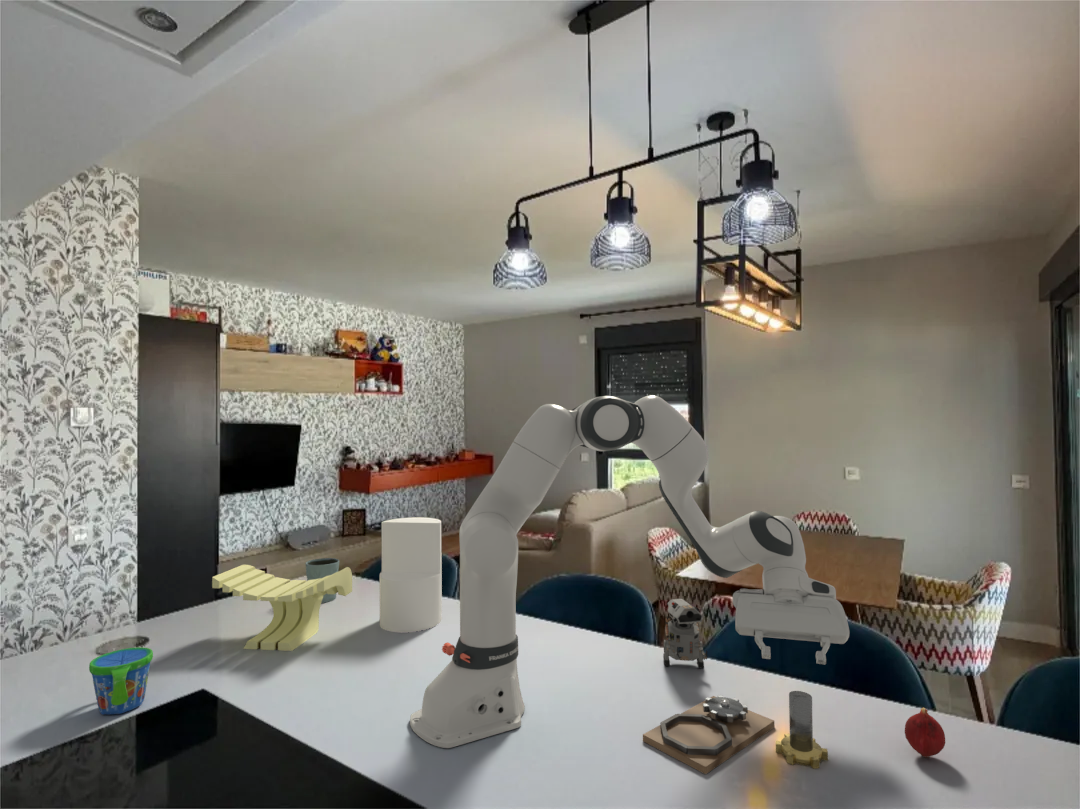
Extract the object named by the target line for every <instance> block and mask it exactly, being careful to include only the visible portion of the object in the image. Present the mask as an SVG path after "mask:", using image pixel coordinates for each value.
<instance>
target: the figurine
mask: <svg viewBox="0 0 1080 809" xmlns="http://www.w3.org/2000/svg"><path fill="white" fill-rule="evenodd" d="M667 606H668V607H667V608H668V609H667V612H668V615H669V616H667V617H665V620H664V621H665V627H664V632H665V638H666V639H663V655H662V657H663V664H664V666H665V667H670V666H671V664H670V663H671V660H670V658H672V659H673V660H675V661H685V662H686V661H687V662H690V661H692V662H693V661H695V660H696V661H697V666H698V668H699V669H704V668H705V662H704V661H705V660H707V659H708V657H709V656H708V651H707V649H706V650H705V651H704V648H703V641H701V640H700V627H699V624H700V623H702V622H703V618H704V615H703V614H702V613H701V612H700V609H699V608H698V607H697V606H692V604H690V603H689V602H687V601H686V600H685V599H682V597H681V598H672V599H669V601H668V602H667Z"/></svg>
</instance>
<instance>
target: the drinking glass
mask: <svg viewBox="0 0 1080 809" xmlns="http://www.w3.org/2000/svg"><path fill="white" fill-rule="evenodd" d="M339 568H340V559H338V558H331V557H322V558H314V559H311V560H308V561H306V562H305V574H306V581H308V580H313V579H319V578H321V579H322V578H324V577H326V576H329V575H332V574H334V573H336V572H338V571H339ZM336 599H337V593H336V594H325V595H323V599H322V602H321V604H324V603H329V602H332V601H334V600H336Z"/></svg>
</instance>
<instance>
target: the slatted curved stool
mask: <svg viewBox="0 0 1080 809" xmlns="http://www.w3.org/2000/svg"><path fill="white" fill-rule="evenodd" d="M211 580H212V581H211V587H212V588H211V589H222V593H232V597H242V601H256V602H257V601H259V600H260V602H269V603H270V605H271V607H272V611H273V617H272V620H271V621H270V622H269V624H268V625H267V626H266V627H265V628H263V630H261V631H260V632H258V633H257V634H256V635H255V636H253V637H252V638H250V639H249V640H247V641H246V643H245V646H244V647H243V648H242V649H243V650H259V649H260V650H262V651H263V650H264V651H276V650H277V651H286V652H292V651H294V650H296V649H297V648H298V647H300V646H301V645H302V644H304V643H305V642H306V641H308V640H309V639H310V638H312V637H313V636H315V634H316V635H317V633H318V632H319V628H320V615H319V614H320V609H321V605H322V603H321V602H322V599H323V595H325V594H336V595H339V596H342V597H343V596H344V597H346V596H348V595H350V594H351V593H353V573H352V570H351V568H350V567H348V566H346V567H345V568H343V569H341V570H338V572H336V573H334V574H332V575H329V576H326V577H324V578H322V579H321V578H319V579H313V580H308V581H307V579H300V580H299V579H292V580H291V579H289V578H284V577H283V578H282V577H277V576H275V575H274V574H271V573H266V571H265V570H261V569H259V568H256V566H253V565H251V564H241V565H239V566H236V567H234V568H231V569H229V570H226V571H224V572H222V573H219V574H216V575H214V576H212V579H211ZM337 593H338V594H337Z"/></svg>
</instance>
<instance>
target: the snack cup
mask: <svg viewBox="0 0 1080 809" xmlns="http://www.w3.org/2000/svg"><path fill="white" fill-rule="evenodd" d="M153 652H154V651H153V650H152V648H148V647H142V646H141V647H139V646H138V647H128V648H122V649H117V650H113V651H110V652H106V653H104V654H101V655H99V656H97V657H95V658H94V659H92V660H91V661H90V662H89V667H88V668H89V673H90V674H91V676H92V683H93V686H94V693H95V694H94V695H95V696H96V697H95V699H96V704H97V708H98V711H99V713H100V714H101V715H121V714H123V713H126V712H130V711H132V710H134V709H136V708H138V707H140V706H141V705H142V704H143V702H144V701H145V697H146V692H147V687H148V686H147V684H148V679H149V674H150V666H151V663H152V661H153V659H154V653H153Z"/></svg>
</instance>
